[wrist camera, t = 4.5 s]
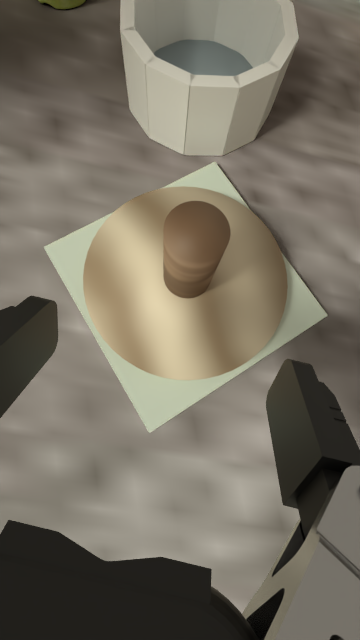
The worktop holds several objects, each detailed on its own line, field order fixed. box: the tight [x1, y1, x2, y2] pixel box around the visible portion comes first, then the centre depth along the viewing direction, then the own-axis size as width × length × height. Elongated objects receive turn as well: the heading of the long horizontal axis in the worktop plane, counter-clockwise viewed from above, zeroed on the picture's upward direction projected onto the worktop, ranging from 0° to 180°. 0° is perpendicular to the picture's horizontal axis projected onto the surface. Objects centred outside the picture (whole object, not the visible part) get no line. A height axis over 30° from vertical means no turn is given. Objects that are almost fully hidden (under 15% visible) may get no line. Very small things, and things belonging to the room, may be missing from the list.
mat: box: [44, 162, 328, 433], centre depth 22 cm, size 16×16×1 cm
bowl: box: [120, 0, 299, 156], centre depth 24 cm, size 13×13×6 cm
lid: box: [83, 186, 288, 380], centre depth 18 cm, size 15×15×8 cm
